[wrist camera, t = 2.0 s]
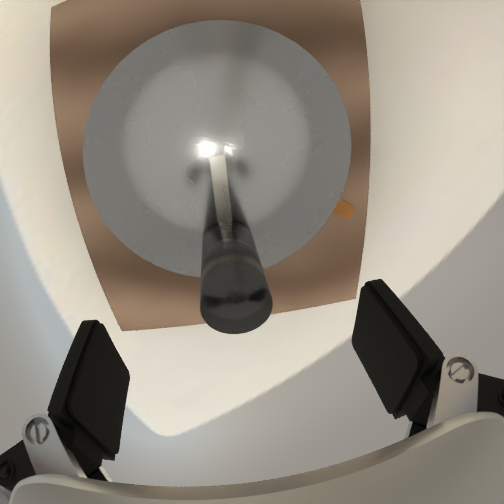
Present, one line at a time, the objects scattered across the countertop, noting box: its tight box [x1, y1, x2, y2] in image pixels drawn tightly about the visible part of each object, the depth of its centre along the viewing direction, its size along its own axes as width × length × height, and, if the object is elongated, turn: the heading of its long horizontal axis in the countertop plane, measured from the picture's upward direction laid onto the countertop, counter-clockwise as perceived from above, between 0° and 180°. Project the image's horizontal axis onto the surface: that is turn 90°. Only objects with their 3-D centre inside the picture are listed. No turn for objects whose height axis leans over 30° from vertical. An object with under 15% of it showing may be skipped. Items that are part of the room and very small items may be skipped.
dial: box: [83, 20, 351, 334], centre depth 10 cm, size 13×13×6 cm
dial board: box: [50, 0, 370, 331], centre depth 14 cm, size 22×17×2 cm
